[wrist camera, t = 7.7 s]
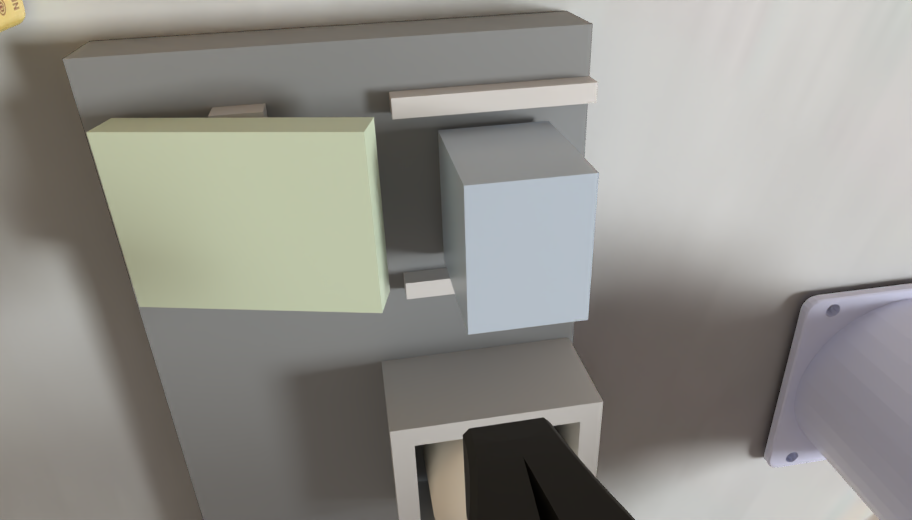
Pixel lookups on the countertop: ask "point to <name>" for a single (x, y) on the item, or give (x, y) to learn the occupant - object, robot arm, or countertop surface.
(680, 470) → the countertop surface
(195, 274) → the block
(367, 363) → the panel
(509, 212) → the block
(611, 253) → the countertop surface
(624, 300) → the countertop surface
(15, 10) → the candy box
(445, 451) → the button
